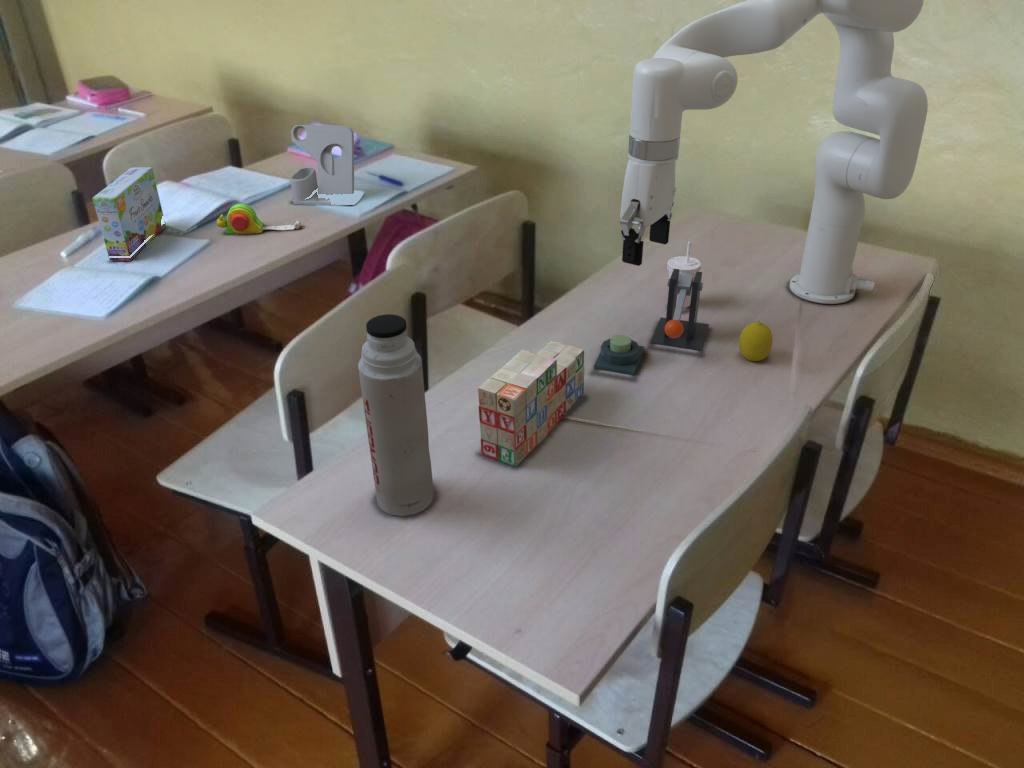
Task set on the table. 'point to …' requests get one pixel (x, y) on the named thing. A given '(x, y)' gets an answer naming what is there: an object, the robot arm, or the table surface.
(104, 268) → the table surface
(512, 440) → the stack of blocks
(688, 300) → the smoothie
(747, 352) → the lemon
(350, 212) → the table surface
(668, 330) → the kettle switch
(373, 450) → the thermos bottle
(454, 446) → the table surface
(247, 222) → the toy measuring tape
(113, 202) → the snack box
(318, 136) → the phone holder
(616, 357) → the dark piece
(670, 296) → the switch bracket
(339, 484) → the table surface
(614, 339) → the green round button
